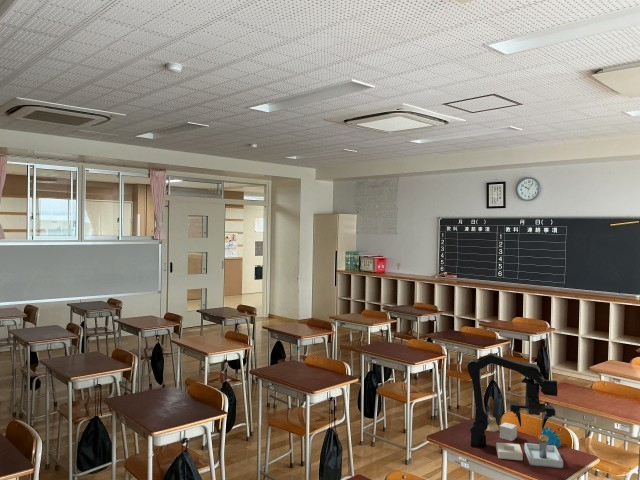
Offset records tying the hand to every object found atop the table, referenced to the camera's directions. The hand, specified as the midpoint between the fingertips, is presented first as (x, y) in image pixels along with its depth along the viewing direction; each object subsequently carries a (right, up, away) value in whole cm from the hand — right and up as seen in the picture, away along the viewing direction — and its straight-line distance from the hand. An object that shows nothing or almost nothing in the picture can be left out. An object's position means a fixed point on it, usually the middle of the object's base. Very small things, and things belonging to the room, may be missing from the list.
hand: (531, 427), depth 234 cm
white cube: (-4, -12, +18) cm, 22 cm away
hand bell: (-8, -11, +29) cm, 32 cm away
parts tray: (+3, -12, -5) cm, 13 cm away
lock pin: (+3, -11, -5) cm, 13 cm away
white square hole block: (-10, -12, -1) cm, 16 cm away
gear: (+13, -12, +9) cm, 20 cm away
